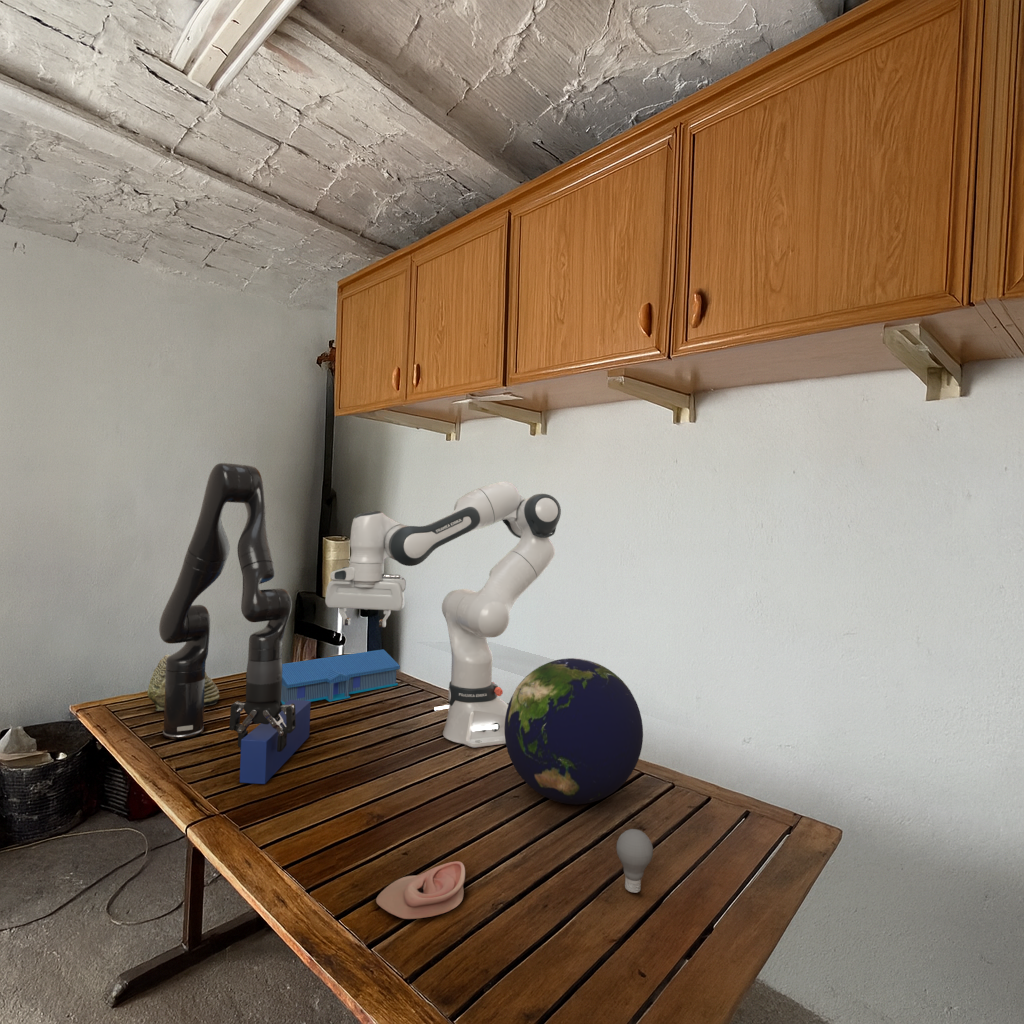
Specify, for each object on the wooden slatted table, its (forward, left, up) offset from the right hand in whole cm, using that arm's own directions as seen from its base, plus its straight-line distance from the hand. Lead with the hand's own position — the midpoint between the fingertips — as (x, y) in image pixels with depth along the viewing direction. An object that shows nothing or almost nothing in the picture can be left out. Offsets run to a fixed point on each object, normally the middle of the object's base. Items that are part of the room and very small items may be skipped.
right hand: (364, 625), depth 165 cm
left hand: (+22, +19, -24) cm, 37 cm away
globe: (-45, +39, -30) cm, 67 cm away
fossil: (+50, -32, -30) cm, 66 cm away
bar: (+19, +9, -30) cm, 37 cm away
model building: (+9, -45, -30) cm, 55 cm away
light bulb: (-44, +73, -30) cm, 90 cm away
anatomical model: (-10, +69, -30) cm, 75 cm away
